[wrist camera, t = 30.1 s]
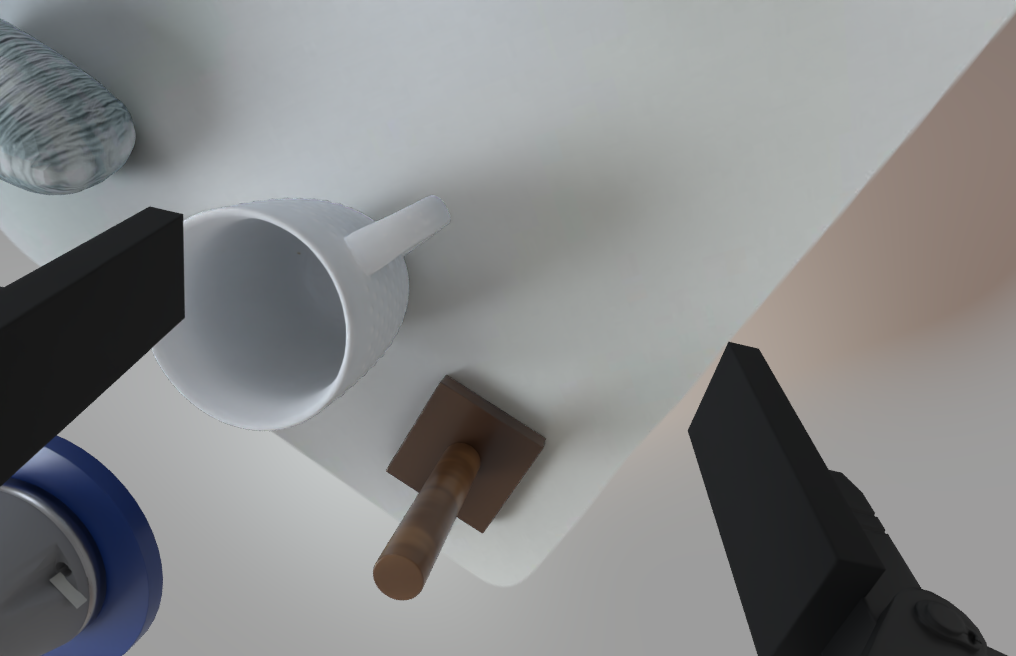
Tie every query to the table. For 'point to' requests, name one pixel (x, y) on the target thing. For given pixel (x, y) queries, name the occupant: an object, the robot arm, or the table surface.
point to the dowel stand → (451, 479)
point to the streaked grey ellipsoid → (56, 120)
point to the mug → (288, 305)
